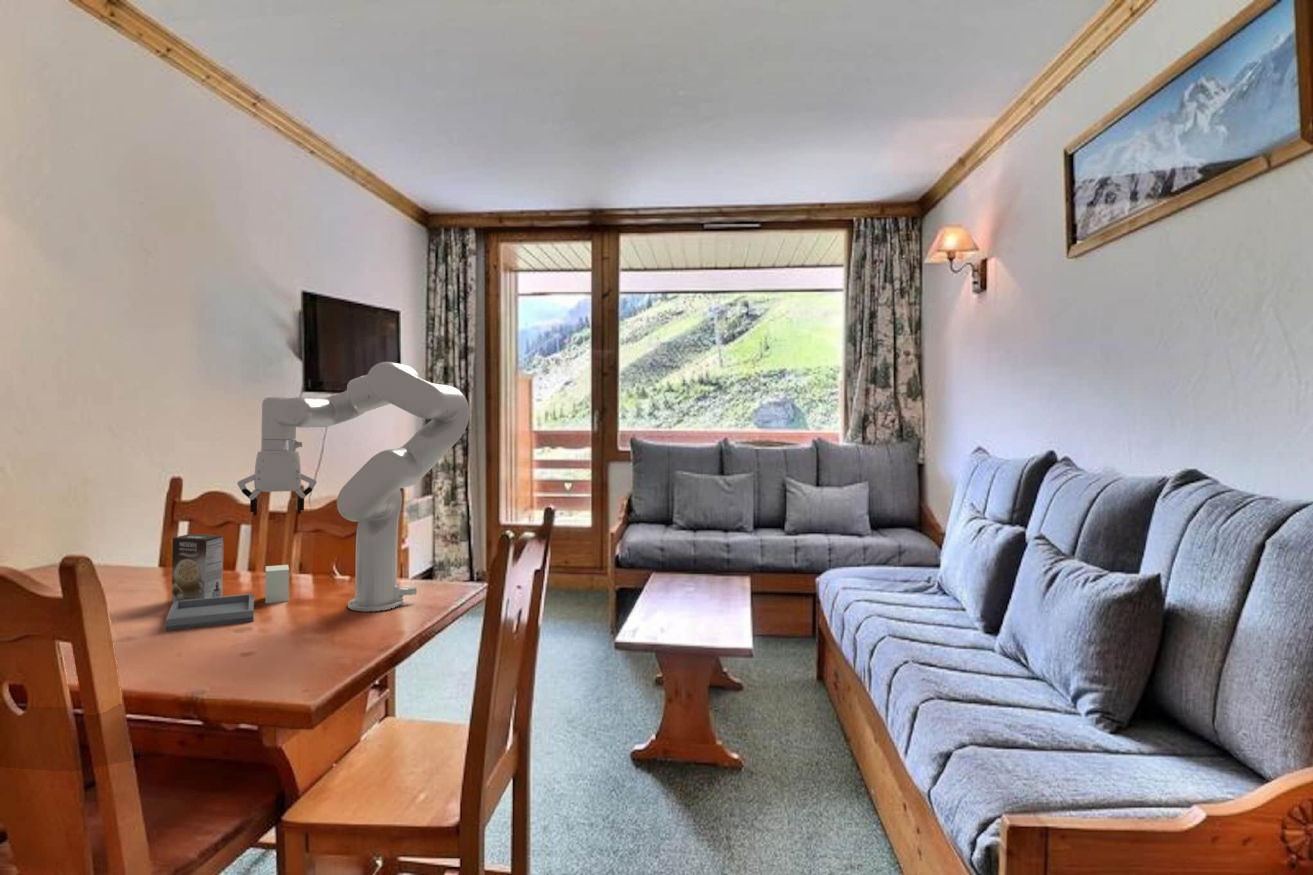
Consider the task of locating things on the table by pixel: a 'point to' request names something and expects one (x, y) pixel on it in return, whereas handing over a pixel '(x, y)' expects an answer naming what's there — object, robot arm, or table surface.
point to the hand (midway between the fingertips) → (277, 514)
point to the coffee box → (197, 566)
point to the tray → (210, 612)
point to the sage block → (277, 584)
